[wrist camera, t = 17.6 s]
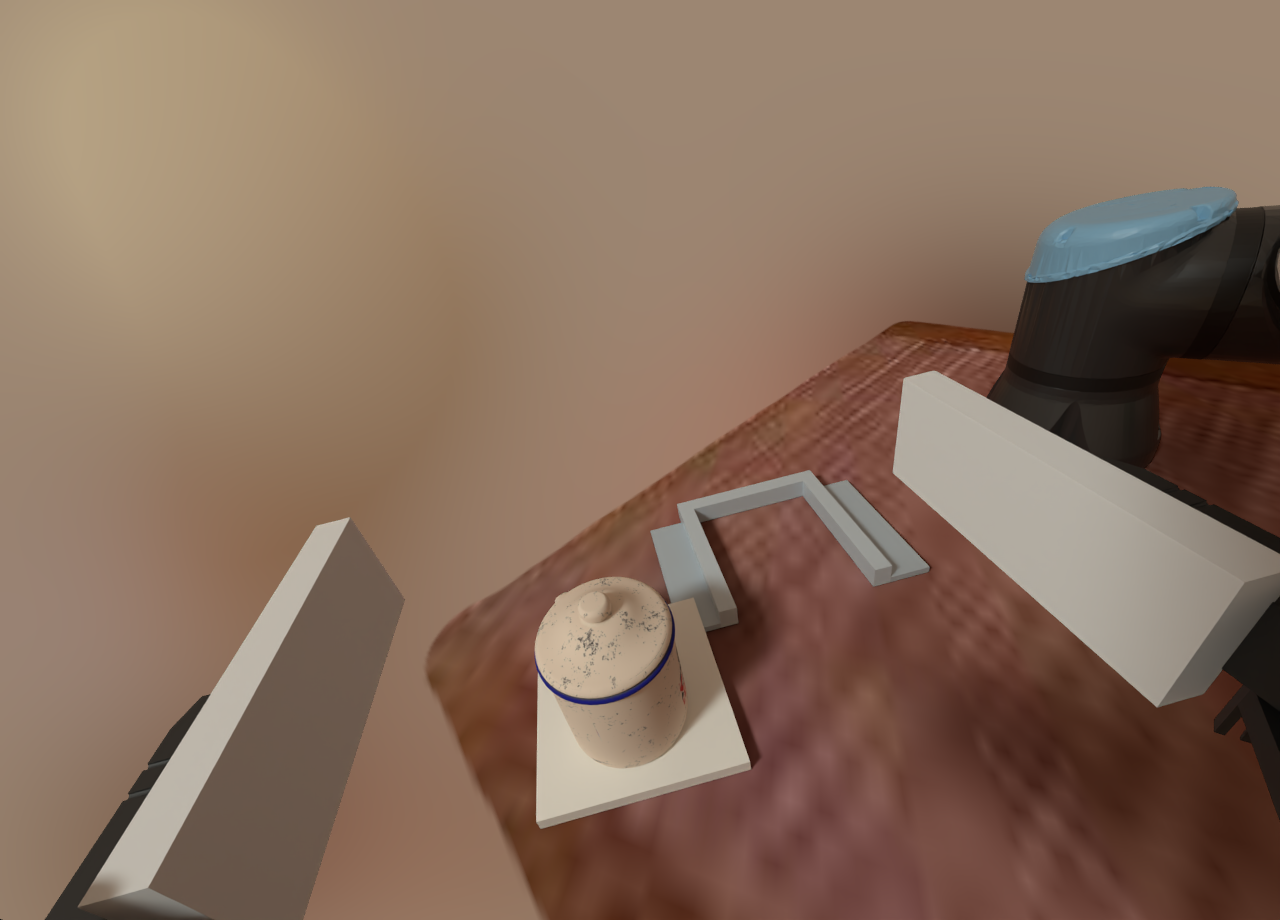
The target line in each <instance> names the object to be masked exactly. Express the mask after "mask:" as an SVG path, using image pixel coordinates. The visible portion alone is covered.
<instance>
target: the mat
mask: <svg viewBox="0 0 1280 920" xmlns="http://www.w3.org/2000/svg"><path fill="white" fill-rule="evenodd" d="M668 606H669V607H670V610H671V612H672V615H673V618H674V622H675V643H676V647H677V652H678V656H679V660H680V664H681V669H682V673H683V677H684V682H685V686H686V691H687V697H688V709H687V715H686V720H685V723H684V725H683V728H682V730H681V732H680V734H679V736H678V737H677V739H676V740H675V742H674V743H673V744H672V745H671V746H670V747H669V749H668V750H667V751H665V752H664V753H663V754H662V755H661V756H659V757H658V758H656V759H655V760H653V761H651V762H649V763H647V764H644V765H641V766H638V767H633V768H613V767H608V766H605V765H602V764H600V763H598V762H596V761H595V760H593V759H592V758H590V757H589V756H588V755H587V754H586V753H585V752H584V751H583V750H582V748H581V747H580V746H579V744H578V742H577V741H576V739H575V737H574V735H573V733H572V731H571V729H570V727H569V725H568V723H567V721H566V719H565V716H564V714H563V712H562V710H561V708H560V706H559V704H558V702H557V700H556V698H555V696H554V694H553V692H552V691H551V690H550V689H549V688H548V687H547V686H546V685H545V684H544V682H543V681H542V679H541V677H540V676H539V673H538V716H537V803H536V822H537V824H538V825H539V827H540V828H541V829H542V828H546V827H549V826H553V825H556V824H560V823H563V822H567V821H570V820H574V819H577V818H581V817H584V816H588V815H591V814H595V813H599V812H602V811H606V810H609V809H613V808H616V807H620V806H623V805H627V804H630V803H634V802H637V801H641V800H645V799H648V798H652V797H655V796H659V795H662V794H666V793H669V792H673V791H676V790H680V789H683V788H687V787H690V786H694V785H698V784H701V783H705V782H708V781H712V780H715V779H719V778H722V777H726V776H729V775H733V774H736V773H740V772H743V771H747V770H751V764H750V760H749V757H748V754H747V751H746V748H745V745H744V742H743V740H742V737H741V734H740V731H739V728H738V725H737V722H736V719H735V716H734V713H733V711H732V708H731V705H730V702H729V699H728V696H727V693H726V690H725V687H724V684H723V682H722V679H721V676H720V673H719V670H718V667H717V664H716V661H715V658H714V655H713V652H712V650H711V647H710V644H709V641H708V638H707V635H706V632H705V629H704V626H703V623H702V621H701V618H700V615H699V612H698V609H697V606H696V603H695V600H694V598H690V599H686V600H682V601H679V602H675V603H671V604H668Z"/></svg>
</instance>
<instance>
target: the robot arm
mask: <svg viewBox="0 0 1280 920" xmlns="http://www.w3.org/2000/svg"><path fill="white" fill-rule="evenodd" d="M1237 206H1238V201H1237V199H1236V193H1235V192H1234V191H1233V190H1231V189H1228V188H1222V187H1202V188H1195V189H1184V188H1183V189H1173V190H1164V191H1158V192H1152V193H1146V194H1140V195H1134V196H1129V197H1124V198H1120V199H1115V200H1111V201H1106V202H1102V203H1098V204H1095V205H1091V206H1088V207H1085V208H1082V209H1079V210H1076V211H1073V212H1071V213H1068V214H1066V215H1064V216H1062V217H1060V218H1058V219H1057V220H1055V221H1053V222H1052V223H1051V224H1050V225H1049V226H1048V227H1046V228H1045V229H1044V231H1043V232H1042V234H1041V235H1040V237H1039V239H1038V241H1037V244H1036V248H1035V251H1034V254H1033V258H1032V261H1031V264H1030V267H1029V269H1028V270H1027V272H1026V273H1025V280H1026V281H1027V284H1026V288H1025V292H1024V296H1023V300H1022V304H1021V308H1020V312H1019V316H1018V320H1017V324H1016V328H1015V332H1014V336H1013V340H1012V344H1011V348H1010V353H1009V357H1008V361H1007V364H1006V368H1005V370H1004V371H1003V373H1002V374H1001V376H1000V377H999V379H998V380H997V381H996V383H995V384H994V386H993V387H992V389H991V391H990V392H989V394H988V396H987V398H985V397H983V396H982V395H980V394H978V393H976V392H974V391H972V390H970V389H968V388H966V387H965V386H963V385H961V384H959V383H957V382H955V381H953V380H951V379H950V378H948V377H946V376H944V375H942V374H940V373H938V372H936V371H930V372H926V373H922V374H918V375H914V376H910V377H906V378H904V381H903V389H902V398H901V406H900V415H899V423H898V432H897V441H896V449H895V458H894V466H893V473H894V474H895V475H896V476H897V477H898V478H899V479H900V480H901V481H903V482H904V483H905V484H906V485H907V486H908V487H909V488H910V489H912V490H913V491H914V492H915V493H916V494H917V495H918V496H919V497H921V498H922V499H923V500H924V501H925V502H926V503H927V504H928V505H930V506H931V507H932V508H933V509H934V510H935V511H936V512H937V513H939V514H940V515H941V516H942V517H943V518H944V519H945V520H946V521H948V522H949V523H950V524H951V525H952V526H953V527H954V528H955V529H957V530H958V531H959V532H960V533H961V534H962V535H963V536H964V537H966V538H967V539H968V540H969V541H970V542H971V543H972V544H973V545H975V546H976V547H977V548H978V549H979V550H980V551H981V552H982V553H984V554H985V555H986V556H987V557H988V558H989V559H990V560H991V561H993V562H994V563H995V564H996V565H997V566H998V567H999V568H1000V569H1002V570H1003V571H1004V572H1005V573H1006V574H1007V575H1008V576H1010V577H1011V578H1012V579H1013V580H1014V581H1015V582H1016V583H1017V584H1019V585H1020V586H1021V587H1022V588H1023V589H1024V590H1025V591H1026V592H1028V593H1029V594H1030V595H1031V596H1032V597H1033V598H1034V599H1035V600H1037V601H1038V602H1039V603H1040V604H1041V605H1042V606H1043V607H1044V608H1046V609H1047V610H1048V611H1049V612H1050V613H1051V614H1052V615H1053V616H1055V617H1056V618H1057V619H1058V620H1059V621H1060V622H1061V623H1062V624H1064V625H1065V626H1066V627H1067V628H1068V629H1069V630H1070V631H1071V632H1073V633H1074V634H1075V635H1076V636H1077V637H1078V638H1079V639H1080V640H1082V641H1083V642H1084V643H1085V644H1086V645H1087V646H1088V647H1089V648H1091V649H1092V650H1093V651H1094V652H1095V653H1096V654H1097V655H1098V656H1100V657H1101V658H1102V659H1103V660H1104V661H1105V662H1106V663H1107V664H1109V665H1110V666H1111V667H1112V668H1113V669H1114V670H1115V671H1116V672H1118V673H1119V674H1120V675H1121V676H1122V677H1123V678H1124V679H1125V680H1127V681H1128V682H1129V683H1130V684H1131V685H1132V686H1133V687H1134V688H1136V689H1137V690H1138V691H1139V692H1140V693H1141V694H1142V695H1143V696H1145V697H1146V698H1147V699H1148V700H1149V701H1150V702H1151V703H1152V704H1154V705H1155V706H1156V707H1161V706H1164V705H1168V704H1171V703H1175V702H1178V701H1181V700H1185V699H1188V698H1192V697H1195V696H1199V695H1202V694H1204V693H1205V692H1206V690H1207V689H1208V688H1209V686H1210V685H1211V684H1212V683H1213V681H1214V680H1215V679H1216V677H1217V676H1218V675H1219V674H1220V672H1221V671H1222V670H1225V671H1226V672H1227V673H1229V674H1230V675H1231V676H1233V677H1234V678H1235V679H1237V680H1238V681H1239V682H1241V683H1242V684H1243V686H1242V687H1241V688H1240V689H1239V690H1238V692H1237V693H1236V694H1235V695H1234V696H1233V697H1232V699H1231V700H1230V701H1229V702H1228V703H1227V705H1226V706H1225V707H1224V708H1223V709H1222V711H1221V712H1220V713H1219V714H1218V715H1217V717H1216V718H1215V719H1214V732H1215V733H1219V734H1222V735H1225V734H1226V733H1227V732H1228V731H1229V730H1230V729H1231V728H1232V726H1233V725H1234V724H1235V723H1236V722H1237V721H1238V720H1239V719H1240V717H1242V718H1243V721H1244V723H1245V726H1246V730H1245V731H1244V732H1243V734H1242V735H1241V737H1240V740H1242V741H1246V742H1249V743H1252V745H1253V748H1254V751H1255V754H1256V756H1257V759H1258V762H1259V765H1260V768H1261V770H1262V773H1263V776H1264V779H1265V781H1266V784H1267V787H1268V790H1269V792H1270V795H1271V798H1272V801H1273V803H1274V806H1275V809H1276V812H1277V814H1278V817H1279V820H1280V538H1279V537H1277V536H1275V535H1273V534H1271V533H1269V532H1267V531H1265V530H1263V529H1261V528H1259V527H1257V526H1255V525H1254V524H1252V523H1250V522H1248V521H1246V520H1244V519H1242V518H1240V517H1238V516H1236V515H1234V514H1232V513H1230V512H1228V511H1226V510H1224V509H1222V508H1220V507H1218V506H1216V505H1214V504H1213V505H1208V504H1207V502H1206V500H1204V499H1202V498H1201V497H1199V496H1197V495H1195V494H1193V493H1191V492H1189V491H1187V490H1179V489H1178V486H1177V485H1175V484H1173V483H1171V482H1169V481H1167V480H1165V479H1163V478H1161V477H1159V476H1157V475H1155V474H1153V473H1151V472H1150V471H1148V470H1146V469H1144V468H1145V467H1146V466H1147V465H1148V464H1149V463H1150V462H1151V460H1152V458H1153V456H1154V454H1155V452H1156V450H1157V447H1158V445H1159V443H1160V439H1161V431H1160V426H1159V394H1158V383H1159V380H1160V378H1161V375H1162V373H1163V370H1164V368H1165V366H1166V363H1167V361H1168V359H1169V358H1190V359H1210V360H1225V361H1239V362H1254V363H1269V364H1280V205H1276V206H1260V207H1254V208H1237ZM404 601H405V599H404V597H403V596H402V594H401V593H400V591H399V590H398V588H397V587H396V585H395V584H394V582H393V581H392V579H391V578H390V576H389V575H388V573H387V572H386V570H385V569H384V567H383V566H382V564H381V563H380V561H379V560H378V558H377V557H376V555H375V554H374V552H373V551H372V549H371V548H370V546H369V545H368V543H367V542H366V540H365V539H364V537H363V535H362V534H361V532H360V531H359V530H358V528H357V526H356V525H355V523H354V522H353V521H352V519H351V518H346V519H342V520H338V521H334V522H330V523H326V524H322V525H318V526H316V527H315V529H314V530H313V532H312V534H311V535H310V537H309V538H308V540H307V542H306V543H305V545H304V546H303V548H302V550H301V551H300V553H299V555H298V556H297V558H296V559H295V561H294V562H293V564H292V566H291V567H290V569H289V570H288V572H287V574H286V575H285V577H284V578H283V580H282V582H281V583H280V585H279V586H278V588H277V590H276V591H275V593H274V594H273V596H272V597H271V599H270V601H269V602H268V604H267V605H266V607H265V609H264V610H263V612H262V613H261V615H260V617H259V618H258V620H257V621H256V623H255V625H254V626H253V628H252V629H251V631H250V633H249V634H248V636H247V637H246V639H245V641H244V642H243V644H242V645H241V647H240V649H239V650H238V652H237V653H236V655H235V656H234V658H233V660H232V661H231V663H230V664H229V666H228V668H227V669H226V671H225V673H224V674H223V676H222V677H221V679H220V680H219V682H218V684H217V685H216V687H215V688H214V690H213V692H212V693H211V694H210V695H206V696H202V697H201V698H200V699H199V700H198V701H197V702H196V703H195V704H194V705H193V706H192V707H191V708H190V709H189V710H188V712H187V713H186V714H185V715H184V716H183V717H182V718H181V719H180V720H179V721H178V722H177V723H176V724H175V725H174V726H173V727H172V728H171V729H170V731H169V732H168V734H167V735H166V737H165V738H164V740H163V741H162V743H161V744H160V746H159V747H158V749H157V750H156V752H155V753H154V755H153V757H152V758H151V759H150V761H149V762H148V765H149V767H148V770H144V771H143V772H142V773H141V775H140V776H139V778H138V779H137V781H136V782H135V784H134V785H133V787H132V788H131V790H130V791H129V793H128V794H129V798H128V800H126V801H123V802H122V803H121V805H120V806H119V808H118V809H117V811H116V813H115V814H114V816H113V817H112V819H111V820H110V822H109V823H108V825H107V826H106V828H105V829H104V831H103V833H102V834H101V835H100V837H99V838H98V840H97V841H96V843H95V844H94V846H93V848H92V849H91V850H90V852H89V854H88V855H87V857H86V858H85V859H84V861H83V863H82V864H81V866H80V867H79V869H78V870H77V872H76V873H75V875H74V876H73V878H72V879H71V881H70V882H69V884H68V885H67V887H66V888H65V890H64V891H63V893H62V894H61V896H60V897H59V899H58V900H57V902H56V903H55V905H54V907H53V908H52V910H51V911H50V913H49V914H48V916H47V917H46V919H45V920H303V918H304V915H305V911H306V909H307V905H308V903H309V899H310V896H311V893H312V890H313V887H314V884H315V881H316V877H317V874H318V871H319V868H320V865H321V862H322V858H323V855H324V852H325V849H326V846H327V843H328V840H329V837H330V833H331V830H332V827H333V824H334V821H335V818H336V815H337V811H338V808H339V805H340V802H341V798H342V796H343V793H344V789H345V786H346V783H347V780H348V777H349V774H350V770H351V767H352V764H353V761H354V758H355V755H356V751H357V749H358V745H359V742H360V739H361V736H362V733H363V729H364V726H365V723H366V720H367V717H368V714H369V710H370V708H371V705H372V701H373V698H374V695H375V692H376V689H377V686H378V683H379V679H380V676H381V673H382V670H383V667H384V664H385V660H386V657H387V654H388V651H389V648H390V645H391V642H392V638H393V635H394V632H395V629H396V626H397V623H398V619H399V616H400V614H401V610H402V607H403V604H404ZM0 920H1V919H0Z"/></svg>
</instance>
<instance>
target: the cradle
mask: <svg viewBox="0 0 1280 920" xmlns="http://www.w3.org/2000/svg"><path fill="white" fill-rule="evenodd" d="M800 496H803V497H804V498H805V499H806V501H807V502H808V503H809V504H810V506H811V507H812V508H813V510H814V511H815V512H816V513H817V515H818V516H819V517H820V519H821V520H822V521H823V522H824V524H825V525H826V526H827V528H828V529H829V530H830V531H831V533H832V534H833V535H834V537H835V538H836V539H837V540H838V542H839V543H840V544H841V546H842V547H843V548H844V549H845V551H846V552H847V553H848V555H849V556H850V557H851V558H852V560H853V561H854V562H855V564H856V565H857V566H858V567H859V569H860V570H861V571H862V573H863V574H864V575H865V576H866V578H867V579H868V580H869V582H870V583H871V584H872V585H873V587H874V586H878V585H882V584H885V583H889V582H893V581H896V580H900V579H904V578H908V577H911V576H915V575H919V574H922V573H926V572H929V568H930V567H929V566H928V565H927V564H926V562H925V561H924V560H923V559H922V558H921V557H920V556H919V555H918V554H917V553H916V552H915V551H914V550H913V549H912V548H911V547H910V546H909V545H908V544H907V543H906V542H905V540H904V539H903V538H902V537H901V536H900V535H899V534H898V533H897V532H896V531H895V530H894V529H893V528H892V527H891V526H890V525H889V524H888V523H887V522H886V521H885V520H884V519H883V517H882V516H881V515H880V514H879V513H878V512H877V511H876V510H875V509H874V508H873V507H872V506H871V505H870V504H869V503H868V502H867V501H866V500H865V499H864V498H863V497H862V495H861V494H860V493H859V492H858V491H857V490H856V489H855V488H854V487H853V486H852V485H851V484H850V483H849V482H848V481H847V480H845V481H841V482H837V483H833V484H829V485H826V486H823V485H822V484H821V483H820V482H819V480H818V479H817V478H816V477H815V476H814V475H813V473H812V472H811V471H810V470H808V471H804V472H800V473H797V474H793V475H789V476H785V477H781V478H777V479H773V480H769V481H765V482H762V483H758V484H754V485H750V486H746V487H742V488H738V489H734V490H731V491H727V492H723V493H719V494H715V495H711V496H707V497H703V498H699V499H696V500H692V501H688V502H684V503H680V504H677V507H678V512H679V517H680V521H681V523H679V524H675V525H671V526H667V527H664V528H660V529H656V530H652V531H651V535H652V539H653V542H654V546H655V549H656V553H657V556H658V559H659V563H660V566H661V570H662V573H663V577H664V580H665V584H666V587H667V591H668V594H669V598H670V601H671V603H675V602H679V601H682V600H686V599H690V598H694V600H695V603H696V606H697V609H698V612H699V615H700V618H701V621H702V623H703V626H704V629H705V632H707V631H711V630H715V629H718V628H722V627H726V626H729V625H733V624H737V623H738V614H737V607H736V605H735V602H734V600H733V598H732V595H731V593H730V591H729V589H728V586H727V584H726V582H725V579H724V577H723V575H722V572H721V570H720V568H719V565H718V563H717V561H716V559H715V556H714V554H713V552H712V549H711V547H710V545H709V542H708V540H707V538H706V536H705V533H704V531H703V529H702V526H701V524H700V522H704V521H708V520H711V519H715V518H719V517H723V516H727V515H731V514H734V513H738V512H742V511H746V510H750V509H754V508H758V507H761V506H765V505H769V504H773V503H777V502H781V501H785V500H788V499H792V498H796V497H800Z"/></svg>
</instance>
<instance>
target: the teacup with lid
mask: <svg viewBox="0 0 1280 920" xmlns="http://www.w3.org/2000/svg"><path fill="white" fill-rule="evenodd" d="M535 663H536V667H537V671H538V673H539V676H540V677H541V679H542V681H543V682H544V684H545V685H546V686H547V687H548V688H549V689H550V690H551V691H552V692H553V694H554V696H555V698H556V700H557V702H558V704H559V706H560V708H561V710H562V712H563V714H564V716H565V719H566V721H567V723H568V725H569V727H570V729H571V731H572V733H573V735H574V737H575V739H576V741H577V742H578V744H579V746H580V747H581V748H582V750H583V751H584V752H585V753H586V754H587V755H588V756H589V757H590V758H592V759H593V760H595V761H596V762H598V763H600V764H602V765H605V766H608V767H613V768H633V767H638V766H641V765H644V764H647V763H649V762H651V761H653V760H655V759H656V758H658V757H659V756H661V755H662V754H663V753H664V752H665V751H667V750H668V749H669V747H670V746H671V745H672V744H673V743H674V742H675V740H676V739H677V737H678V736H679V734H680V732H681V730H682V728H683V725H684V723H685V720H686V715H687V709H688V697H687V691H686V686H685V682H684V677H683V673H682V669H681V664H680V660H679V656H678V652H677V647H676V643H675V622H674V618H673V615H672V612H671V610H670V607H669V606H668V604H667V603H666V601H665V600H664V599H663V598H662V597H661V595H660V594H659V593H658V592H657V591H656V590H654V589H653V588H652V587H650V586H648V585H647V584H645V583H643V582H641V581H638V580H635V579H631V578H626V577H606V578H600V579H596V580H592V581H589V582H587V583H584V584H582V585H580V586H578V587H576V588H574V589H572V590H571V591H569V592H564V593H562V594H561V595H559V596H558V597H557V598H556V600H555V604H554V605H553V606H552V607H551V609H550V610H549V611H548V613H547V614H546V616H545V617H544V619H543V621H542V623H541V625H540V628H539V630H538V633H537V637H536V642H535Z"/></svg>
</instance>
